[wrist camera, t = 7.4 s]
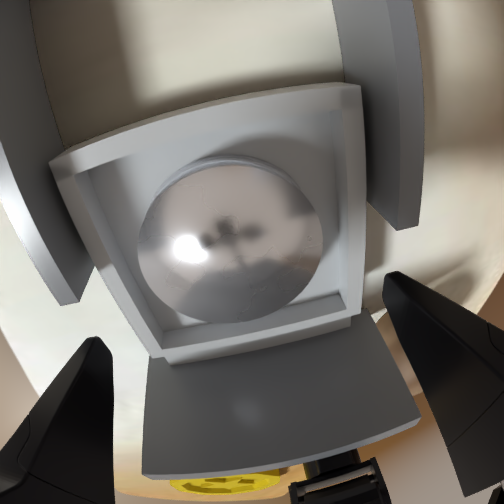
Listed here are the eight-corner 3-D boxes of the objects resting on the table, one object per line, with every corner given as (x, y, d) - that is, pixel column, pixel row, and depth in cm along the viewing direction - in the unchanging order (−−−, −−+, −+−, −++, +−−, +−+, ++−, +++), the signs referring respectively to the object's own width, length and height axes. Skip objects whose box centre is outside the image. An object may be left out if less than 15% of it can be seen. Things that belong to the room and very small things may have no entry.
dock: (371, 184, 13) (418, 225, 10) (87, 249, 13) (60, 306, 10) (324, -101, 5) (361, -138, 2) (9, -19, 5) (-43, -30, 2)
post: (416, 333, 21) (444, 381, 17) (368, 350, 21) (393, 404, 17) (428, 294, 19) (464, 345, 14) (375, 312, 19) (407, 371, 14)
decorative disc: (157, 479, 39) (158, 489, 37) (200, 456, 31) (201, 470, 30) (241, 487, 45) (242, 496, 43) (300, 462, 38) (303, 472, 36)
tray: (365, 320, 19) (415, 425, 12) (156, 366, 18) (152, 479, 12) (368, 79, 10) (528, 125, 4) (45, 158, 10) (-76, 269, 4)
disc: (301, 137, 11) (315, 148, 9) (315, 280, 15) (325, 302, 13) (120, 180, 11) (108, 197, 9) (175, 311, 15) (174, 335, 13)
